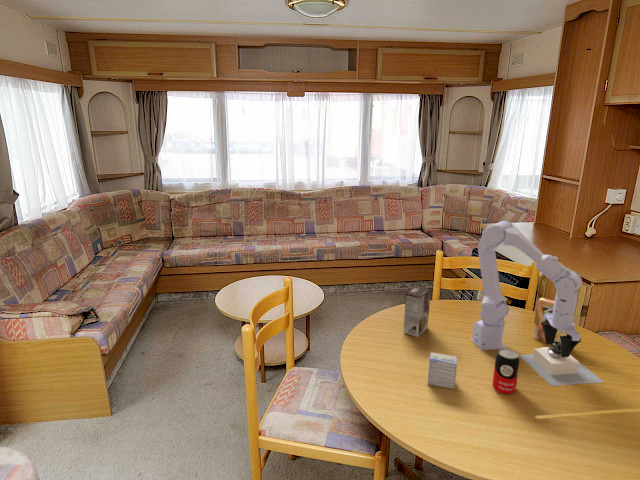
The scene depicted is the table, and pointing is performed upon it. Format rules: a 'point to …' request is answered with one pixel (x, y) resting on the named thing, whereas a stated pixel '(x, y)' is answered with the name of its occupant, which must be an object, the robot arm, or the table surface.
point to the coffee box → (416, 311)
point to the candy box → (541, 309)
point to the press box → (555, 362)
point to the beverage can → (506, 371)
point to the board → (564, 379)
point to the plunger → (555, 349)
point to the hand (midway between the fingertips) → (556, 350)
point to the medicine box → (442, 370)
